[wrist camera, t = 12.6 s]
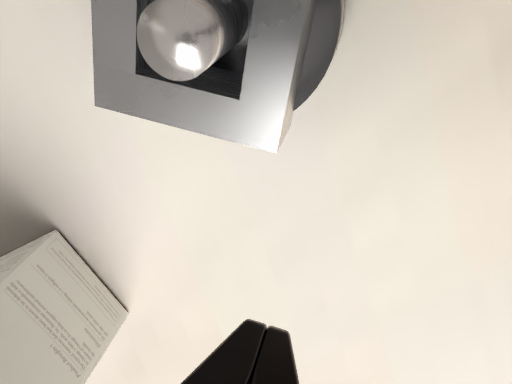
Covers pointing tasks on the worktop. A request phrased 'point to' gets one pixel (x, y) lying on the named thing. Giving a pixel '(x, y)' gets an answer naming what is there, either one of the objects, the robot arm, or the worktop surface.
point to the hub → (226, 38)
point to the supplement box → (53, 314)
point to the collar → (207, 75)
